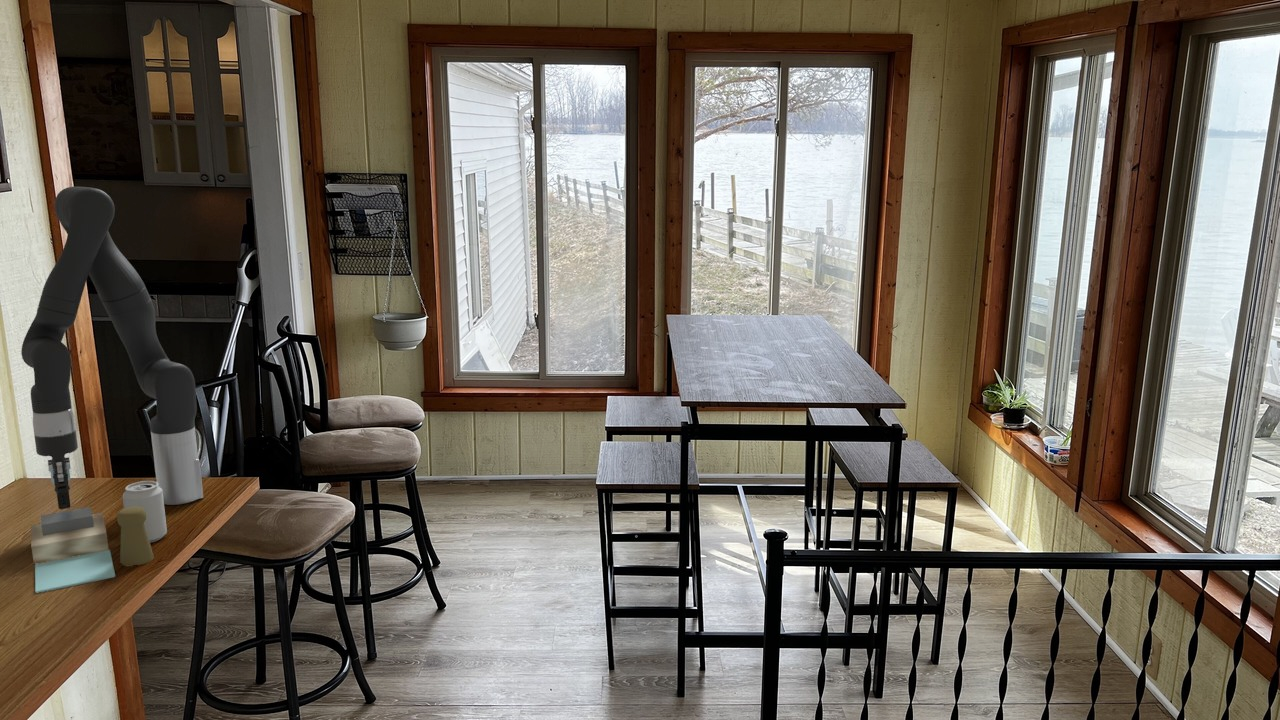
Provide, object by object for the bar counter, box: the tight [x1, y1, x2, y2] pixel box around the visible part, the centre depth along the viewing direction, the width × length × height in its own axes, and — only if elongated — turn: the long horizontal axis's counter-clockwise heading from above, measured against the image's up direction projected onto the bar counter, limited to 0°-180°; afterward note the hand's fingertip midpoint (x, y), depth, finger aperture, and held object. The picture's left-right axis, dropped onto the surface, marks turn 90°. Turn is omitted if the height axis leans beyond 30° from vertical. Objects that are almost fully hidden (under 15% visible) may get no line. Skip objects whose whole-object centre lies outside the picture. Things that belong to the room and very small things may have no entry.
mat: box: [34, 549, 116, 594], centre depth 182 cm, size 13×14×1 cm
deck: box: [30, 512, 110, 565], centre depth 193 cm, size 13×13×4 cm
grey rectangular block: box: [40, 506, 94, 536], centre depth 194 cm, size 9×6×2 cm, turn 123°
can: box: [122, 480, 168, 544], centre depth 197 cm, size 8×8×12 cm
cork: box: [116, 506, 155, 567], centre depth 186 cm, size 6×6×11 cm
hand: (64, 507), depth 200 cm, fingers closed
